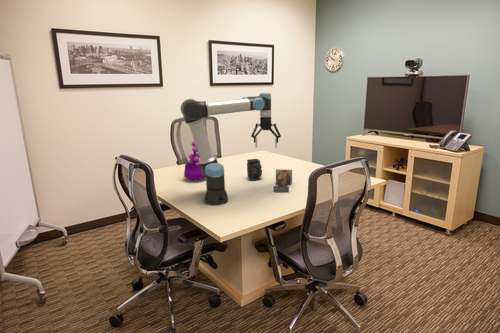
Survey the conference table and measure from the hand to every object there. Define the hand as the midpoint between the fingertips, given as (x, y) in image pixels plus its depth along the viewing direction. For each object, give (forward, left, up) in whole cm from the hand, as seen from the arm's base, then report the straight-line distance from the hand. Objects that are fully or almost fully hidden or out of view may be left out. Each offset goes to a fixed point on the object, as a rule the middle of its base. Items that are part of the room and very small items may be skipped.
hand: (266, 147), depth 226 cm
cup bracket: (+11, +8, -29) cm, 32 cm away
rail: (+11, +1, -26) cm, 28 cm away
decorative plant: (-57, +12, -29) cm, 65 cm away
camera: (-12, +18, -29) cm, 36 cm away
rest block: (+11, -7, -29) cm, 32 cm away
